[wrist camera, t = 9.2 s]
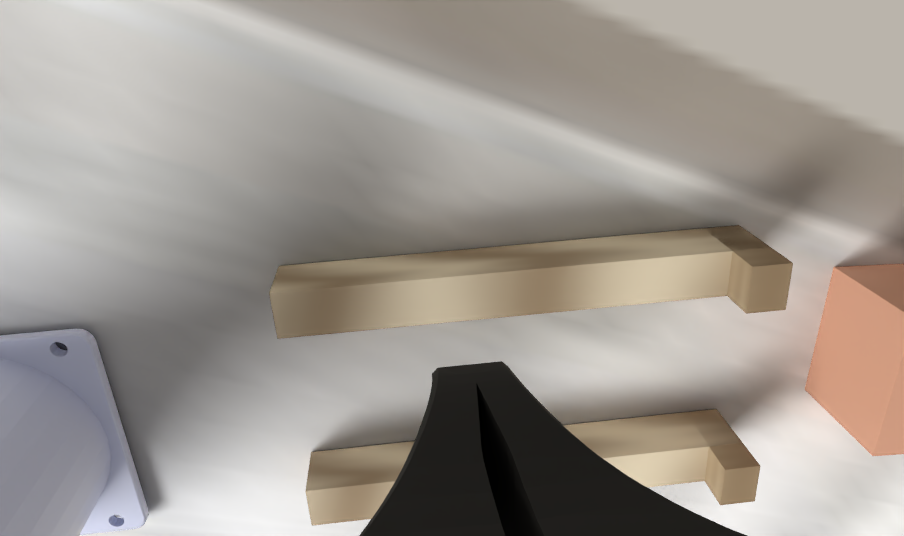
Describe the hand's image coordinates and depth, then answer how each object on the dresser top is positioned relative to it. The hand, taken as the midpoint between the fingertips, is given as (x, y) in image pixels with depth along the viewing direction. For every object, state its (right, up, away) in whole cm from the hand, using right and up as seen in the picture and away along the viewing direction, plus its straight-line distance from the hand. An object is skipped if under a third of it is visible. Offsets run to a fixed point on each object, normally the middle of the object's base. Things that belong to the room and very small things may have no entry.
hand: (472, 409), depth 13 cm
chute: (+2, -1, +11) cm, 11 cm away
